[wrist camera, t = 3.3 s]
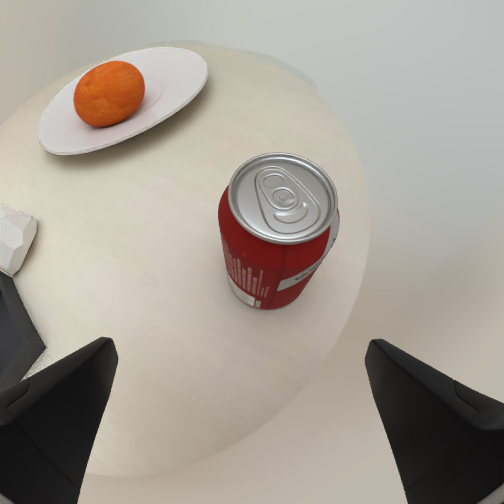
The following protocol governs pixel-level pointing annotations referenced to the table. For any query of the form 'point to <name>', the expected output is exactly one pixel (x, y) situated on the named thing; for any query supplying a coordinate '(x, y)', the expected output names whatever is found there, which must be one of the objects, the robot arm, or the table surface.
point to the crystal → (15, 238)
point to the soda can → (276, 227)
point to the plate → (121, 99)
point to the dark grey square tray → (15, 336)
